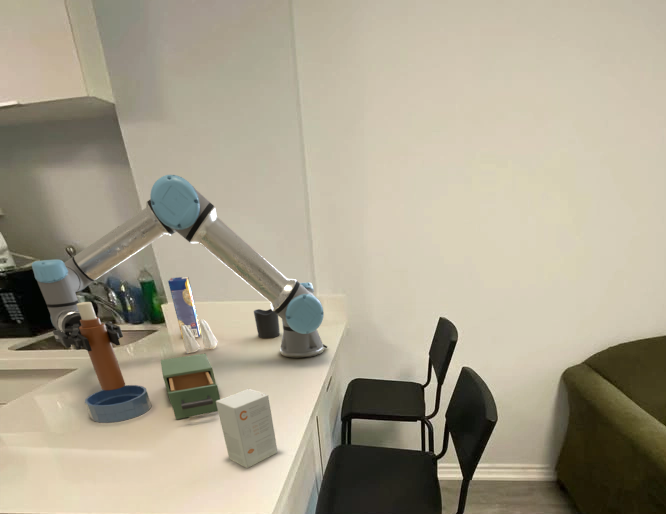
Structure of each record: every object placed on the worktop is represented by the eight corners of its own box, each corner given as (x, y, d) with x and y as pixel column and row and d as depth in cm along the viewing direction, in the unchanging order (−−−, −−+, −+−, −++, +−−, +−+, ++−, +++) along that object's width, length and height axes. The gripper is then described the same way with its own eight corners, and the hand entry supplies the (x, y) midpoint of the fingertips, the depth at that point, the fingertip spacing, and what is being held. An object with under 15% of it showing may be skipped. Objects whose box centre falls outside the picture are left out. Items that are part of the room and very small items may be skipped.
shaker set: (218, 346, 164) (212, 316, 158) (219, 349, 160) (213, 319, 154) (185, 351, 160) (178, 320, 154) (186, 353, 157) (178, 323, 151)
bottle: (129, 382, 109) (102, 300, 99) (116, 390, 105) (86, 305, 94) (110, 382, 110) (81, 301, 100) (96, 390, 105) (64, 305, 95)
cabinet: (218, 397, 118) (212, 367, 114) (171, 405, 114) (162, 375, 110) (211, 380, 130) (205, 353, 126) (168, 387, 126) (160, 359, 122)
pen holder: (270, 339, 170) (266, 313, 165) (252, 337, 174) (248, 311, 169) (285, 334, 177) (282, 308, 171) (268, 331, 181) (264, 307, 176)
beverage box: (200, 331, 187) (188, 276, 176) (199, 336, 178) (186, 280, 167) (184, 332, 186) (171, 277, 174) (182, 338, 176) (168, 281, 165)
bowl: (162, 402, 116) (157, 385, 114) (131, 425, 104) (124, 406, 102) (114, 401, 118) (108, 384, 116) (79, 424, 106) (71, 405, 103)
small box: (259, 444, 93) (249, 387, 86) (278, 452, 89) (269, 394, 83) (228, 459, 88) (214, 400, 81) (247, 469, 84) (234, 408, 78)
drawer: (225, 416, 105) (219, 390, 101) (177, 426, 101) (169, 399, 97) (214, 392, 119) (209, 368, 116) (172, 399, 115) (165, 375, 112)
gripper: (119, 334, 120) (148, 349, 105) (44, 349, 110) (63, 368, 95) (110, 306, 116) (138, 318, 101) (31, 319, 106) (49, 333, 91)
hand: (102, 342), depth 98 cm, fingers closed on bottle, 5 cm apart
